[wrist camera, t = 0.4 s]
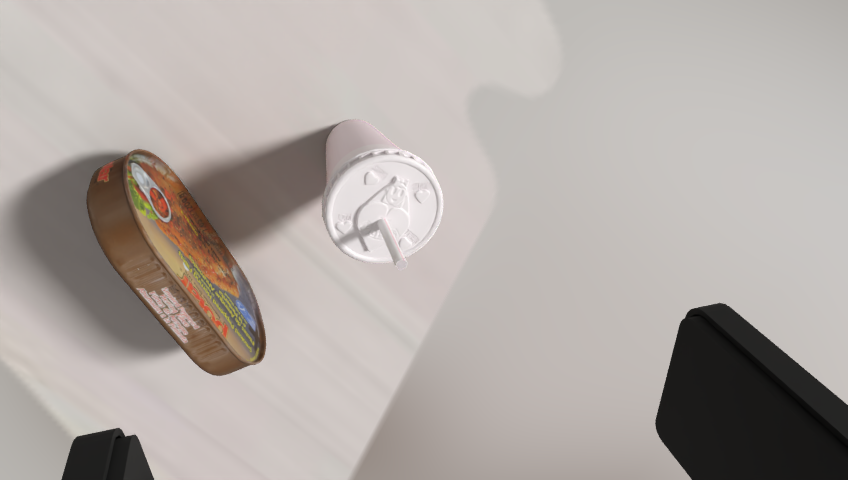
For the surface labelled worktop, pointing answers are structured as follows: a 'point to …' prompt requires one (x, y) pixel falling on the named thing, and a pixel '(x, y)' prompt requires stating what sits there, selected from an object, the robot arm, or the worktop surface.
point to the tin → (176, 262)
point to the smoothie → (377, 196)
